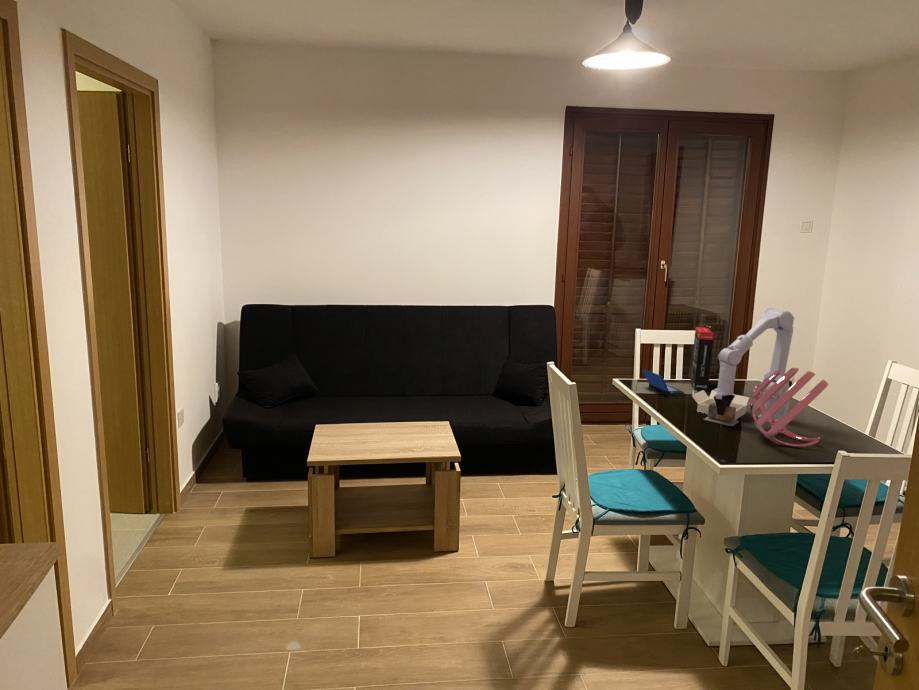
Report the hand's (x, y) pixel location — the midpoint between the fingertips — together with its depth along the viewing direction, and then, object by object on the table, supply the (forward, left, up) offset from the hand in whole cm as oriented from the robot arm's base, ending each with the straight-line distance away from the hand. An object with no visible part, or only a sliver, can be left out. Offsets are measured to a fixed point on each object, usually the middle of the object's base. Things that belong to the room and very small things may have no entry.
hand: (722, 413), depth 266 cm
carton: (+4, -13, -3) cm, 14 cm away
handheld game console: (+35, -27, -3) cm, 45 cm away
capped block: (0, 0, -2) cm, 2 cm away
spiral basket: (-24, +7, -3) cm, 25 cm away
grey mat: (0, 0, -3) cm, 3 cm away
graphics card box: (+27, -50, -3) cm, 57 cm away
